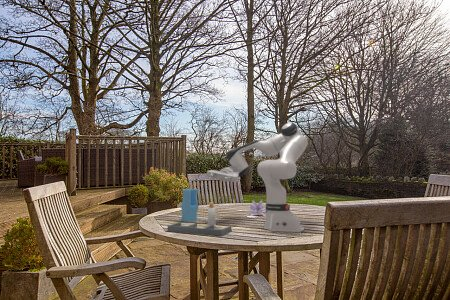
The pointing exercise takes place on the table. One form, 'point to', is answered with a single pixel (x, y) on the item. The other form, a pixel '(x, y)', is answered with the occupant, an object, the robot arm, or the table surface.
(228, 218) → the table surface
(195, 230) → the cable organizer
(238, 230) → the table surface
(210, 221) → the orange capped bottle
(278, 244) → the table surface
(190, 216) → the vase
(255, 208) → the water lily
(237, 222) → the table surface
